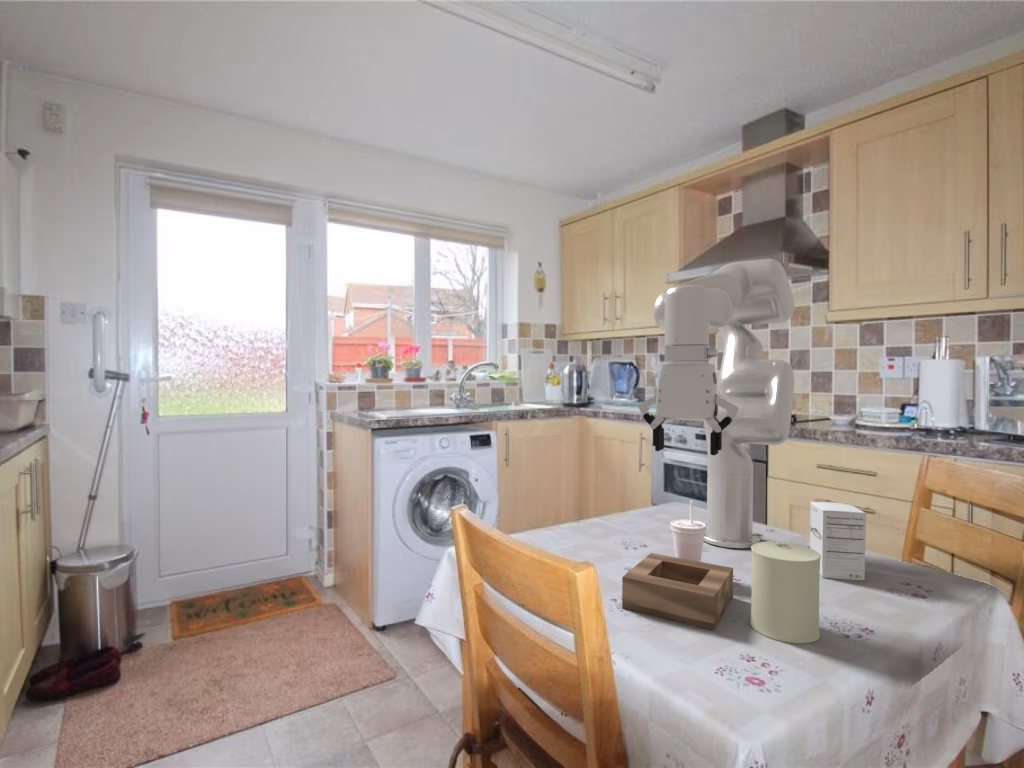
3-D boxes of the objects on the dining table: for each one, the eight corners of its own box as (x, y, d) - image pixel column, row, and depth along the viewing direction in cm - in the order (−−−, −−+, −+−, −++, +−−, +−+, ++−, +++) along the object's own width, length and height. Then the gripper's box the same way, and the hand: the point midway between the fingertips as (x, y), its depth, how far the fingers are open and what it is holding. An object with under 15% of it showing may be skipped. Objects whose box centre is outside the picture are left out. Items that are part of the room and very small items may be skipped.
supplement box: (808, 564, 108) (809, 500, 108) (849, 567, 106) (850, 502, 106) (821, 578, 101) (822, 509, 100) (866, 581, 99) (867, 511, 99)
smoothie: (708, 583, 98) (709, 505, 98) (671, 580, 99) (672, 503, 99) (703, 571, 104) (704, 497, 104) (668, 568, 105) (669, 495, 105)
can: (809, 618, 84) (810, 540, 84) (829, 647, 75) (830, 560, 75) (744, 612, 86) (745, 536, 86) (756, 639, 77) (757, 555, 77)
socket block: (650, 580, 99) (651, 552, 99) (732, 597, 92) (733, 567, 92) (622, 608, 87) (622, 576, 87) (713, 630, 80) (714, 596, 80)
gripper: (742, 355, 96) (741, 453, 97) (646, 357, 105) (645, 445, 106) (734, 355, 90) (733, 459, 90) (632, 356, 99) (632, 451, 100)
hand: (686, 452), depth 98 cm, fingers open, 9 cm apart
